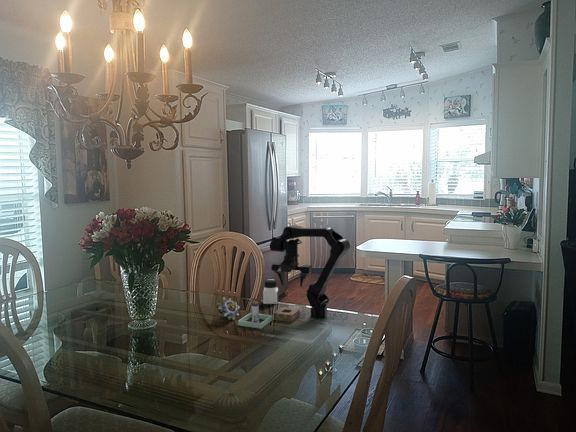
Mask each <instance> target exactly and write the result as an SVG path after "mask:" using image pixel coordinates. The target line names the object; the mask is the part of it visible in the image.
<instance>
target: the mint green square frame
mask: <svg viewBox="0 0 576 432" xmlns="http://www.w3.org/2000/svg"><path fill="white" fill-rule="evenodd" d="M250 319H252V312H249V313H247V314H246V315H245V316H243V317H241V318H240V319H239V320H237V325H238V326H240V327H247V328H254V329H255V328H256V329H260V330H262V329H263V328H265V326H267V325H268V324H270V323H271V322H272V321H273V315H269V314H262V313H259V320H263V321H261V322H259V323H255V322H252V321H249V320H250Z"/></svg>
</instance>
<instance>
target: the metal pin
mask: <svg viewBox="0 0 576 432" xmlns="http://www.w3.org/2000/svg"><path fill="white" fill-rule="evenodd" d="M259 310H260V309H259V302H258V301H252V302H251V313H252V318H251V322H255V323H260V319H259V314H260V311H259Z"/></svg>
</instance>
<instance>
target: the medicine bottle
mask: <svg viewBox="0 0 576 432" xmlns="http://www.w3.org/2000/svg"><path fill="white" fill-rule="evenodd" d="M277 283H278V281H277V280H276V279H266V280H264V288H263V292H262V301H263V302H262V303H263V304H264V305H272V304H273V305H274V304H275V305H277V304H279V287H278V286H277ZM274 302H276V303H274Z"/></svg>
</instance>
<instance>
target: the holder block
mask: <svg viewBox="0 0 576 432" xmlns="http://www.w3.org/2000/svg"><path fill="white" fill-rule="evenodd" d="M272 314H273V315H272V321H273V320H274V321H280V322H289V323H293V322H294V321H295V320H297V318H299V317H300V316H301V309H300V308H293V307H285V306H281V307H280V308H278V309H276V310H275V311H274V312H272Z"/></svg>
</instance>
